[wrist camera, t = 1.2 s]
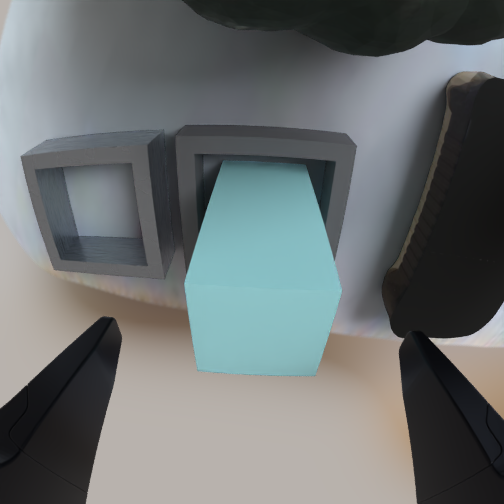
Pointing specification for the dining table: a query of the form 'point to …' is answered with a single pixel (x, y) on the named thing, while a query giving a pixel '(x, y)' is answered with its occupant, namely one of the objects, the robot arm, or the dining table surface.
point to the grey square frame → (261, 144)
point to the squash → (365, 21)
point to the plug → (262, 274)
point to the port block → (61, 217)
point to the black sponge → (456, 222)
